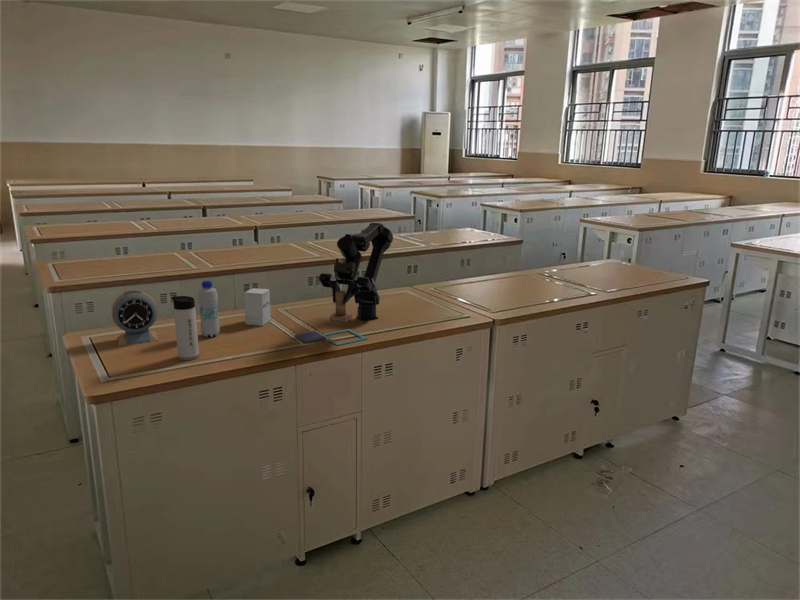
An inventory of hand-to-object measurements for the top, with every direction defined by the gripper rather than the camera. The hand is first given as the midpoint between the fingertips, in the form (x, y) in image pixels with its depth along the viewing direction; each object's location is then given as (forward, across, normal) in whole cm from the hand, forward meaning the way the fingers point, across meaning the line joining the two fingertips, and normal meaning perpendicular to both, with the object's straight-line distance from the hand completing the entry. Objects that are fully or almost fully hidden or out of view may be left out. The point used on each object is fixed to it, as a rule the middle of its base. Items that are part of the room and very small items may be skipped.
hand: (338, 302), depth 197 cm
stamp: (+3, 0, +6) cm, 7 cm away
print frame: (+8, +1, +10) cm, 13 cm away
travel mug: (+33, -37, -15) cm, 52 cm away
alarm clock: (+27, -65, -9) cm, 71 cm away
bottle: (+19, -44, 0) cm, 48 cm away
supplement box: (+6, -36, +14) cm, 39 cm away
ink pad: (+12, -10, +7) cm, 17 cm away
